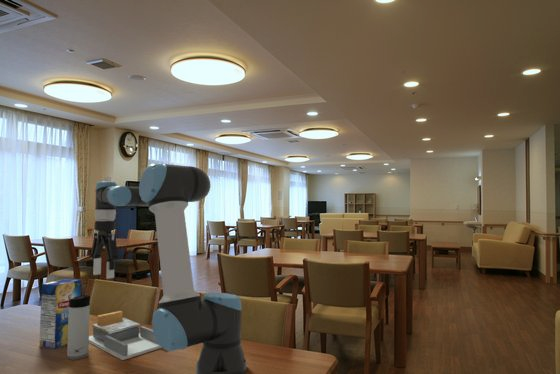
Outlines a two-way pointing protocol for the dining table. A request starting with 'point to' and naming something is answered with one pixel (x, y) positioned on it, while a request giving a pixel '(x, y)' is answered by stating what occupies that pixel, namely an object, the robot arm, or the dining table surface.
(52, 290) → the blue food box
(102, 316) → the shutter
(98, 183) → the robot arm
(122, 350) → the dock
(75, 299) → the travel mug
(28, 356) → the dining table surface
